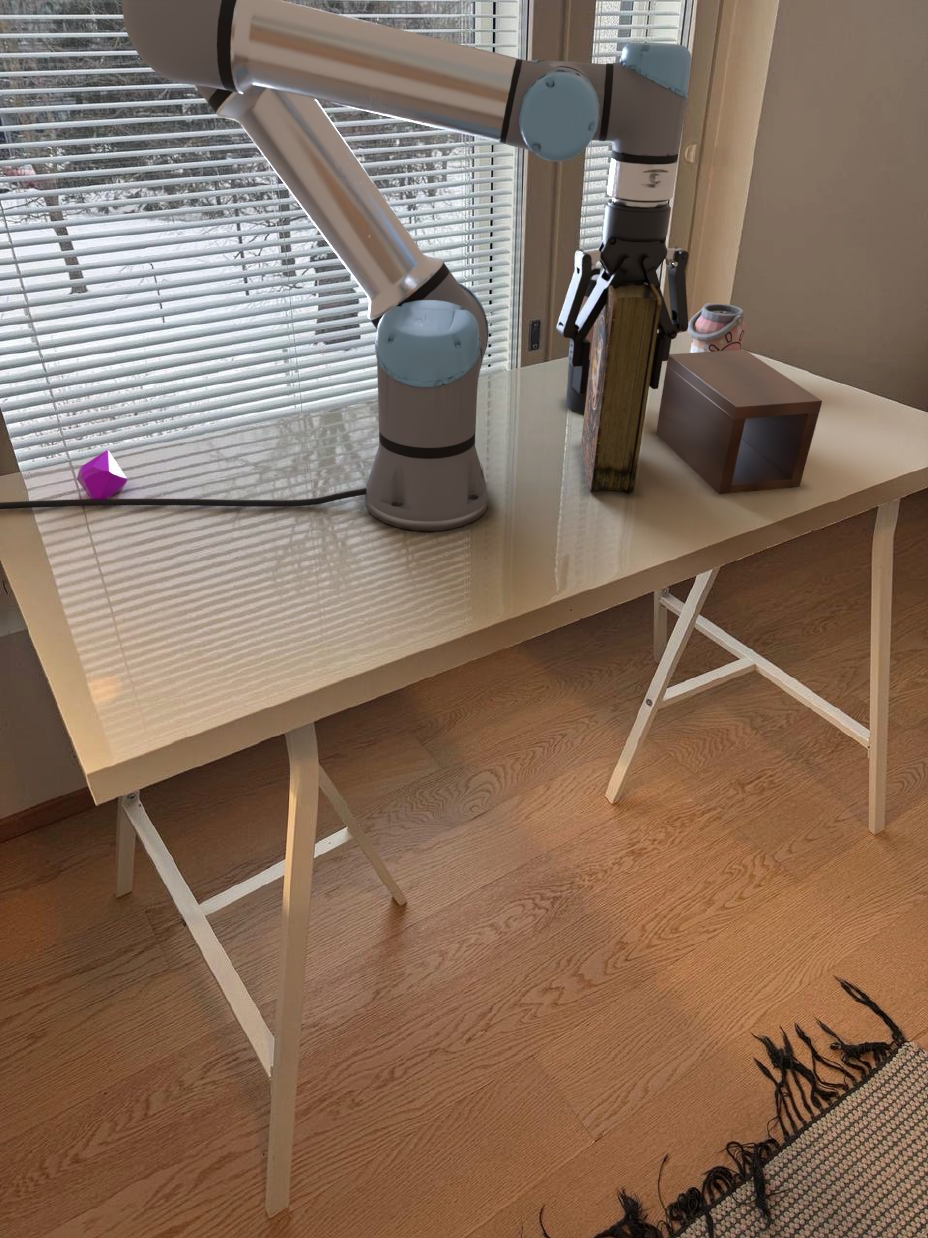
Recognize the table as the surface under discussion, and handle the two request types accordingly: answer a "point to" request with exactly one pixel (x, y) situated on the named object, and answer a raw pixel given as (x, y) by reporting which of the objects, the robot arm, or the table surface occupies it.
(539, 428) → the table surface
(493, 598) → the table surface
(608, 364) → the book
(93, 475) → the crystal
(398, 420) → the robot arm
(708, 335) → the patterned ceramic cup
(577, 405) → the travel mug
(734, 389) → the shelf
